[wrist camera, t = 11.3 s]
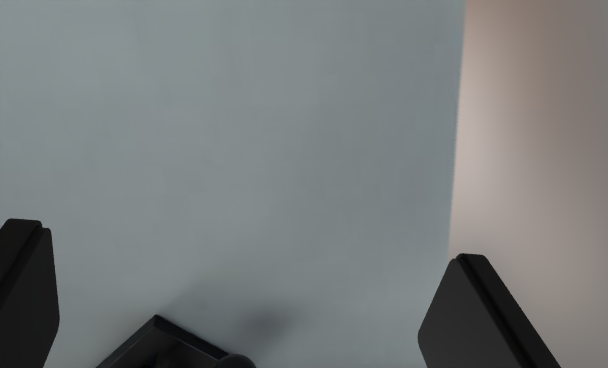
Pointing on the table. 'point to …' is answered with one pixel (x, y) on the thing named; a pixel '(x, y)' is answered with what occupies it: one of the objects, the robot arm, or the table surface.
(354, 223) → the table surface
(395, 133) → the table surface
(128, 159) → the table surface
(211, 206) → the table surface
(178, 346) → the black lever stand
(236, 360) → the lever
